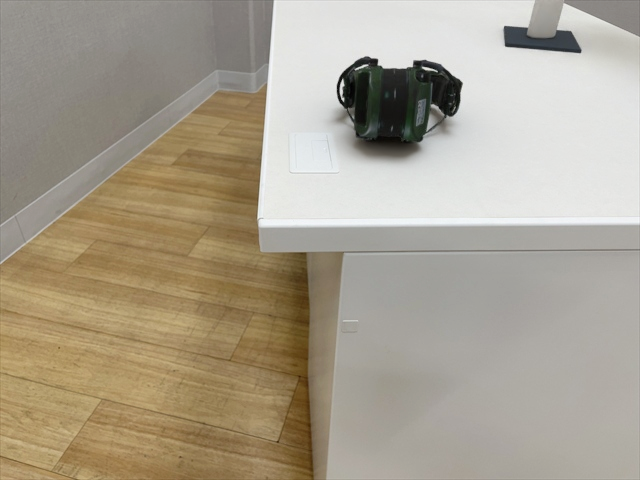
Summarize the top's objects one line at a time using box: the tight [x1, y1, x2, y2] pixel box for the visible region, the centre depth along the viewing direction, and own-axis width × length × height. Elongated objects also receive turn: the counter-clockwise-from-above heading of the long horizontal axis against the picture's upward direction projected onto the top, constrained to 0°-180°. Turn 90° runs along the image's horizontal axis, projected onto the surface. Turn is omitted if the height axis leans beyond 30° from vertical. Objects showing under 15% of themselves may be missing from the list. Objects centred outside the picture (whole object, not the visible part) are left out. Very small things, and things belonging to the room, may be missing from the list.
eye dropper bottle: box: [527, 0, 565, 39], centre depth 102 cm, size 4×6×12 cm
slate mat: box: [503, 25, 582, 54], centre depth 105 cm, size 14×16×1 cm
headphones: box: [336, 55, 464, 144], centre depth 64 cm, size 13×13×20 cm
